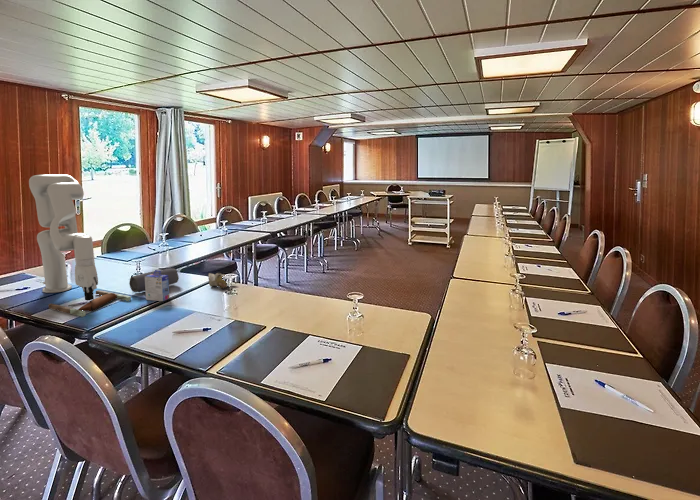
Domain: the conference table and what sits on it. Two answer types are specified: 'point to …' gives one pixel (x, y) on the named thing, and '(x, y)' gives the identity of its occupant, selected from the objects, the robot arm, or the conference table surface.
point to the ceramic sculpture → (217, 280)
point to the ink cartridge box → (157, 287)
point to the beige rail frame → (80, 312)
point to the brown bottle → (98, 302)
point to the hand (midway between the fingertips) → (89, 299)
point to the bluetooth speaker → (139, 280)
